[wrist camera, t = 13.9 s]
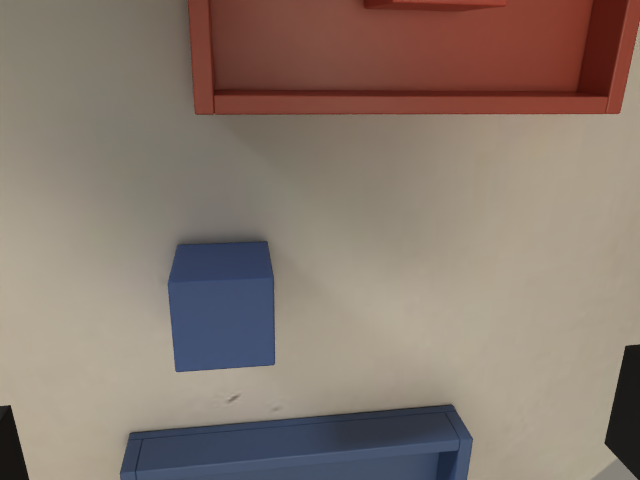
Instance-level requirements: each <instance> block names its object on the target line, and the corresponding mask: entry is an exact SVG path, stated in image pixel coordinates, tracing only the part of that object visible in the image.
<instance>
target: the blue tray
mask: <svg viewBox="0 0 640 480" xmlns="http://www.w3.org/2000/svg"><path fill="white" fill-rule="evenodd" d="M472 442H473V438H472V436H471V435H470V433H469V431H468V430H467V428H466V426H465V425H464V423H463V421H462V420H461V418H460V416H459V415H458V413H457V412H456V410H455V408H454V406H453V405H448V406H437V407H425V408H414V409H402V410H391V411H379V412H368V413H357V414H345V415H334V416H322V417H311V418H299V419H288V420H277V421H265V422H254V423H242V424H231V425H219V426H208V427H197V428H185V429H174V430H162V431H151V432H139V433H130V436H129V439H128V443H127V447H126V451H125V455H124V459H123V463H122V467H121V471H120V478H121V480H467V475H468V468H469V462H470V455H471V448H472Z"/></svg>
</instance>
